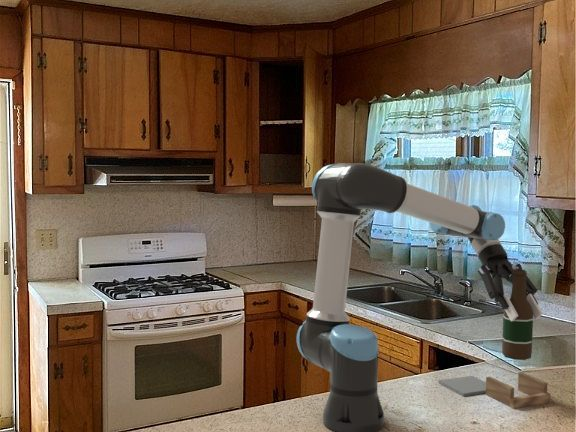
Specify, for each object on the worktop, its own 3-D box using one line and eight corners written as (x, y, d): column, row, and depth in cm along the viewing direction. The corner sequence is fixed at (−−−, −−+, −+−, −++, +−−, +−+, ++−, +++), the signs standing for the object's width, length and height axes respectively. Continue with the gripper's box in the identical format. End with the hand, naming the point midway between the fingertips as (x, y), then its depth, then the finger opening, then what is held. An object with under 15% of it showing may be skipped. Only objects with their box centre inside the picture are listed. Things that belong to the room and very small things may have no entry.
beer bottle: (512, 361, 168) (516, 272, 167) (495, 353, 176) (498, 268, 174) (537, 359, 171) (541, 271, 169) (520, 351, 178) (523, 267, 176)
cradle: (513, 408, 166) (513, 389, 166) (485, 394, 177) (486, 377, 176) (550, 402, 170) (550, 384, 170) (521, 389, 181) (521, 372, 181)
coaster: (463, 396, 175) (463, 393, 175) (438, 382, 186) (438, 380, 186) (498, 391, 179) (498, 388, 179) (472, 378, 190) (472, 375, 190)
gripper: (511, 257, 190) (549, 322, 175) (454, 259, 182) (489, 327, 168) (524, 241, 184) (564, 307, 170) (466, 243, 177) (503, 312, 163)
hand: (526, 317), depth 169 cm, fingers closed on beer bottle, 7 cm apart
